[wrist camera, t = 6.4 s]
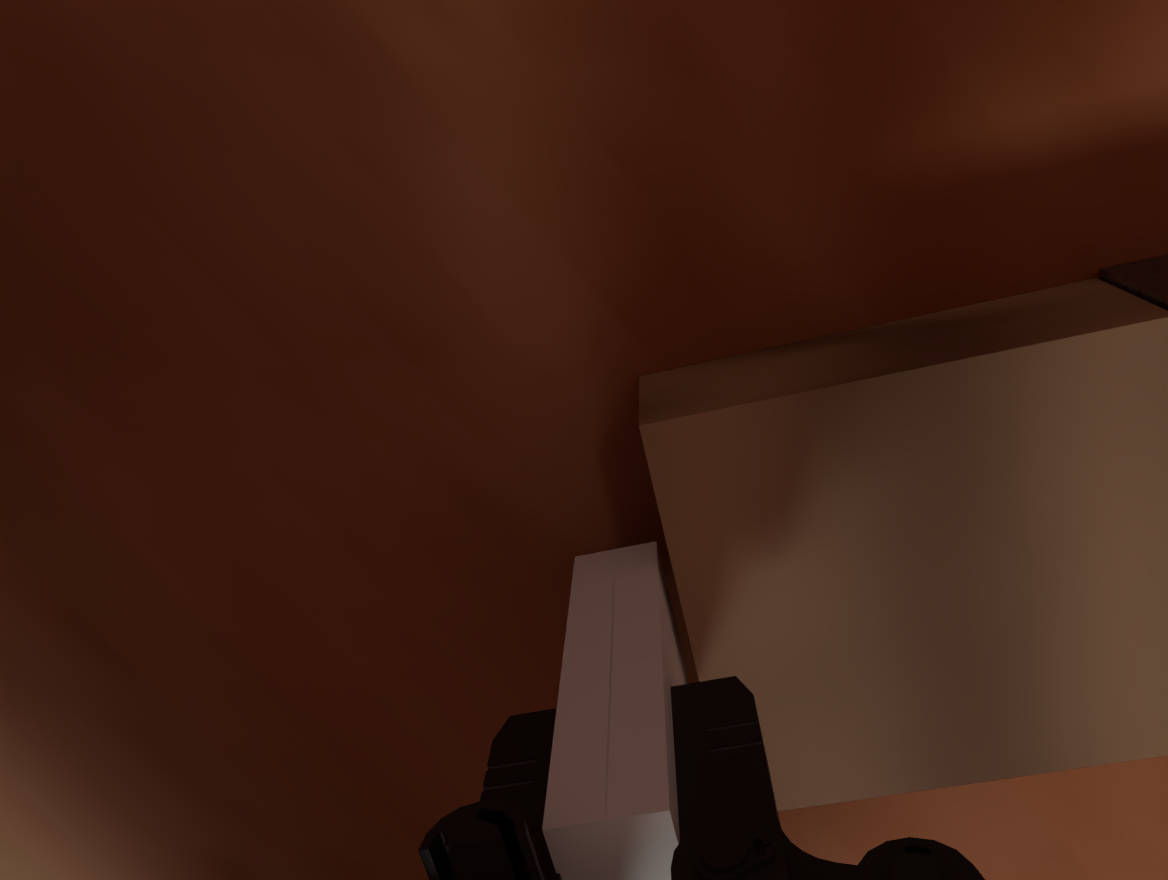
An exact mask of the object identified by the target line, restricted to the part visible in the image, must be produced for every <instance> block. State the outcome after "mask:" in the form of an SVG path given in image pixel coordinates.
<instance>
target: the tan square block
mask: <svg viewBox="0 0 1168 880" xmlns="http://www.w3.org/2000/svg"><path fill="white" fill-rule="evenodd" d="M639 430H640V434H641V438H642V442H643V446H644V451H645V455H646V459H647V463H648V468H649V472H650V476H651V480H652V484H653V489H654V493H655V497H656V501H657V506H658V510H659V514H660V518H661V523H662V527H663V531H664V535H665V539H666V544H667V548H668V552H669V556H670V561H671V565H672V569H673V573H674V578H675V582H676V586H677V590H678V594H679V599H680V603H681V607H682V611H683V616H684V620H685V624H686V628H687V632H688V637H689V641H690V645H691V649H692V654H693V658H694V662H695V666H696V671H697V675H698V679H699V682H701V681H707V680H713V679H719V678H725V677H731V676H736V677H737V678H738V679H739V680H740V681H741V682H742V683H743V684H744V685H745V686H746V687H747V688H748V689H749V690H750V691H751V693H752V694H753V695H754V699H755V704H756V708H757V713H758V718H759V723H760V728H761V732H762V737H763V742H764V747H765V751H766V756H767V761H768V766H769V771H770V775H771V781H772V786H773V791H774V796H775V801H776V806H777V811H785V810H792V809H799V808H806V807H813V806H819V805H826V804H833V803H840V802H847V801H854V800H861V799H868V798H875V797H882V796H889V795H896V794H903V793H910V792H917V791H924V790H930V789H937V788H944V787H951V786H958V785H965V784H972V783H979V782H986V781H993V780H1000V779H1007V778H1014V777H1021V776H1028V775H1035V774H1041V773H1048V772H1055V771H1062V770H1069V769H1076V768H1083V767H1090V766H1097V765H1104V764H1111V763H1118V762H1125V761H1132V760H1139V759H1146V758H1152V757H1159V756H1166V755H1168V311H1167V310H1165V309H1163V308H1161V307H1159V306H1156V305H1154V304H1152V303H1150V302H1148V301H1146V300H1143V299H1141V298H1139V297H1137V296H1135V295H1132V294H1130V293H1128V292H1126V291H1124V290H1122V289H1119V288H1117V287H1115V286H1113V285H1111V284H1108V283H1106V282H1104V281H1102V280H1100V279H1097V278H1093V279H1088V280H1084V281H1079V282H1074V283H1070V284H1065V285H1061V286H1056V287H1051V288H1047V289H1042V290H1037V291H1033V292H1028V293H1023V294H1019V295H1014V296H1010V297H1005V298H1000V299H996V300H991V301H986V302H982V303H977V304H972V305H968V306H963V307H959V308H954V309H949V310H945V311H940V312H935V313H931V314H926V315H921V316H917V317H912V318H907V319H903V320H898V321H894V322H889V323H884V324H880V325H875V326H870V327H866V328H861V329H856V330H852V331H847V332H843V333H838V334H833V335H829V336H824V337H819V338H815V339H810V340H805V341H801V342H796V343H792V344H787V345H782V346H778V347H773V348H768V349H764V350H759V351H754V352H750V353H745V354H741V355H736V356H731V357H727V358H722V359H717V360H713V361H708V362H703V363H699V364H694V365H690V366H685V367H680V368H676V369H671V370H666V371H662V372H657V373H652V374H648V375H643V376H639Z"/></svg>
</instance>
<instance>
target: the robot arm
mask: <svg viewBox="0 0 1168 880" xmlns="http://www.w3.org/2000/svg"><path fill="white" fill-rule="evenodd" d="M487 766H488V771H486V775H485V780H484V784H483V789H484V792H482V794H481V799H480V802H477V803H473V804H470V805H466V806H463V807H460V808H458V809H457V810H455V811H453V812H452V813H450V814H448V815H447V816H445V817H443V818H442V819H440V820H439V822H438V823H437V824H436V825H435V826H434V827H433V828H432V829H431V830H430V831H429V832H428V833H427V834H426V836H425V838H424V840H423V842H422V844H421V846H420V848H419V850H418V851H419V854H420V856H421V859H422V861H423V864H424V867H425V869H426V872H427V874H428V877H429V879H430V880H985V879H984V878H983V876H982V875H981V874H980V873H979V871H978V870H977V869H976V867H975V866H974V865H973V864H972V863H971V862H970V861H968V860H967V859H966V858H965V857H964V856H963V855H962V854H961V853H959V852H958V851H957V850H956V849H953V848H951V847H949V846H946V845H944V844H942V843H939V842H937V841H935V840H929V839H920V838H912V837H908V838H902V839H897V840H891V841H886V842H884V843H883V844H881V845H879V846H877V847H875V848H874V849H872V850H870V851H868V852H867V854H866V855H865V856H864V857H863V859H862V860H861V861H860V863H859V864H858V865H850V864H843V863H836V862H831V861H827V860H823V859H819V858H816V857H814V856H812V855H810V854H808V853H806V852H803V851H802V850H801V849H799V848H798V847H797V846H795V845H794V844H793V843H792V842H790V840H789V839H788V838H787V836H786V835H785V834H784V832H783V831H782V829H781V826H780V821H779V816H778V811H777V806H776V801H775V796H774V791H773V786H772V781H771V775H770V771H769V766H768V761H767V756H766V751H765V747H764V742H763V737H762V732H761V728H760V723H759V718H758V713H757V708H756V704H755V699H754V695H753V694H752V693H751V691H750V690H749V689H748V688H747V687H746V686H745V685H744V684H743V683H742V682H741V681H740V680H739V679H738V678H737V677H736V676H731V677H725V678H719V679H713V680H707V681H701V682H696V683H690V684H688V683H687V672H686V665H685V661H684V656H683V652H682V648H681V644H680V639H679V635H678V631H677V627H676V623H675V618H674V614H673V610H672V606H671V601H670V597H669V593H668V589H667V585H666V580H665V576H664V572H663V568H662V563H661V559H660V555H659V551H658V547H657V542H656V541H655V542H650V543H644V544H639V545H634V546H628V547H623V548H618V549H613V550H607V551H602V552H597V553H592V554H586V555H581V556H576V557H575V560H574V568H573V577H572V585H571V593H570V602H569V610H568V618H567V627H566V635H565V643H564V652H563V660H562V668H561V677H560V685H559V693H558V702H557V708H555V709H549V710H543V711H537V712H532V713H526V714H520V715H514V716H510V717H509V719H508V720H507V721H506V723H505V724H504V725H503V727H502V728H501V730H500V731H499V732H498V734H497V735H496V737H495V738H494V739H493V741H492V746H491V751H490V756H489V761H488V765H487Z"/></svg>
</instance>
